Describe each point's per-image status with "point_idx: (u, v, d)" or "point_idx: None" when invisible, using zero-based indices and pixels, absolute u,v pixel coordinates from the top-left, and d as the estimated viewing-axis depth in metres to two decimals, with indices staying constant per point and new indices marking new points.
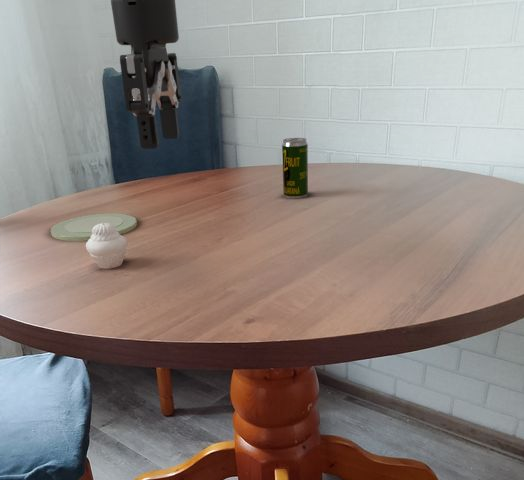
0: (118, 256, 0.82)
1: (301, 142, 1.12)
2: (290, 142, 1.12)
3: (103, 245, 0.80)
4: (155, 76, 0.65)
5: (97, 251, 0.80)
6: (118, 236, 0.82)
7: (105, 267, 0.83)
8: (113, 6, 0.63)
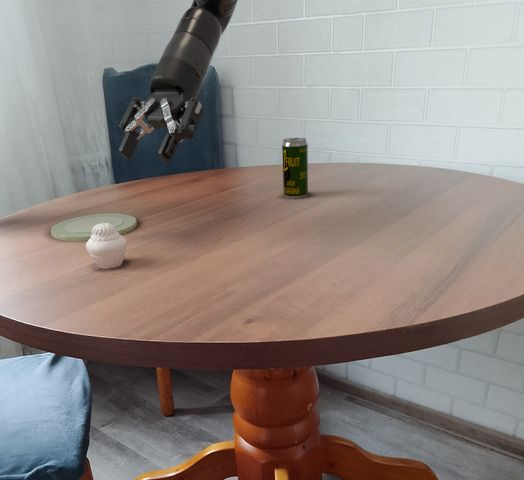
0: (118, 256, 0.82)
1: (301, 142, 1.12)
2: (290, 142, 1.12)
3: (103, 245, 0.80)
4: (180, 120, 0.86)
5: (97, 251, 0.80)
6: (118, 236, 0.82)
7: (105, 267, 0.83)
8: (181, 62, 0.84)
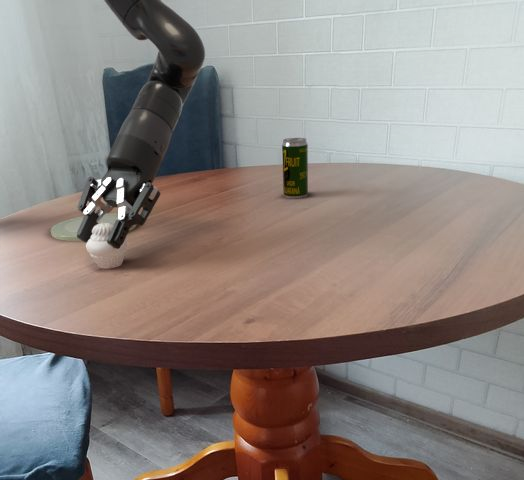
0: (118, 256, 0.82)
1: (301, 142, 1.12)
2: (290, 142, 1.12)
3: (103, 245, 0.80)
4: None
5: (97, 251, 0.80)
6: None
7: (105, 267, 0.83)
8: (138, 141, 0.81)
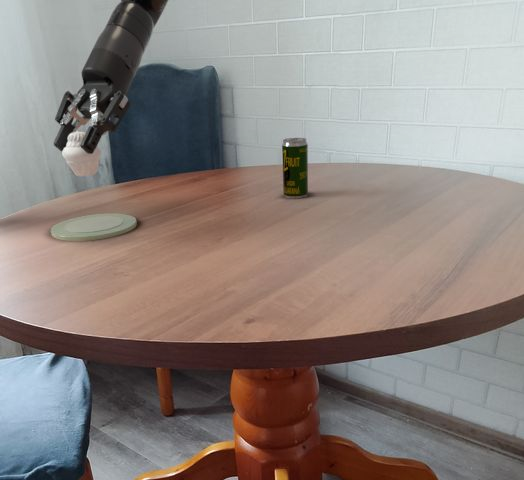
0: (92, 162, 0.89)
1: (301, 142, 1.12)
2: (290, 142, 1.12)
3: (77, 150, 0.87)
4: None
5: (72, 156, 0.87)
6: None
7: (80, 173, 0.89)
8: (110, 54, 0.87)
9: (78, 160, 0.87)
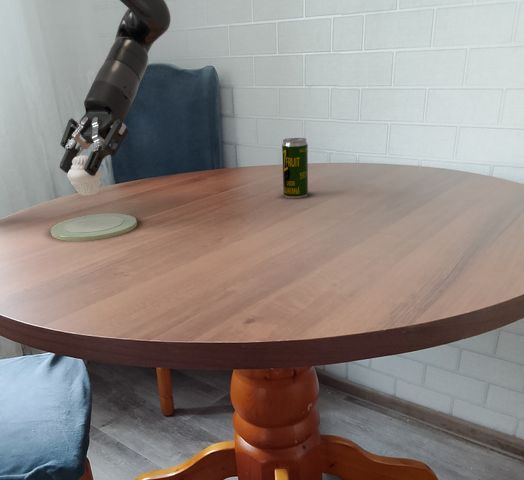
0: (94, 183, 0.98)
1: (301, 142, 1.12)
2: (290, 142, 1.12)
3: (81, 173, 0.96)
4: None
5: (76, 178, 0.97)
6: None
7: (83, 193, 0.99)
8: (110, 86, 0.97)
9: (82, 181, 0.97)
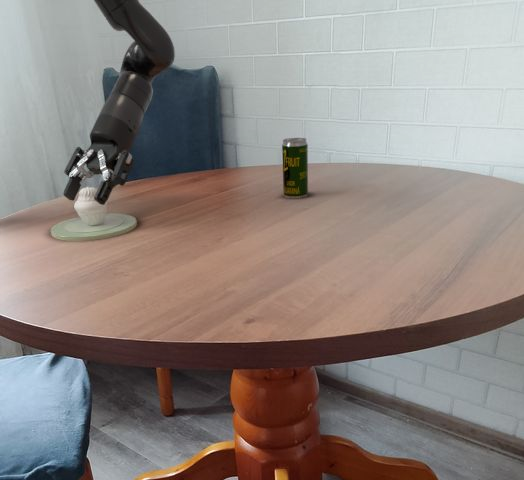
0: (100, 214, 1.01)
1: (301, 142, 1.12)
2: (290, 142, 1.12)
3: (88, 204, 0.99)
4: (115, 168, 1.01)
5: (83, 209, 0.99)
6: None
7: (90, 223, 1.02)
8: (115, 119, 0.99)
9: (88, 212, 1.00)
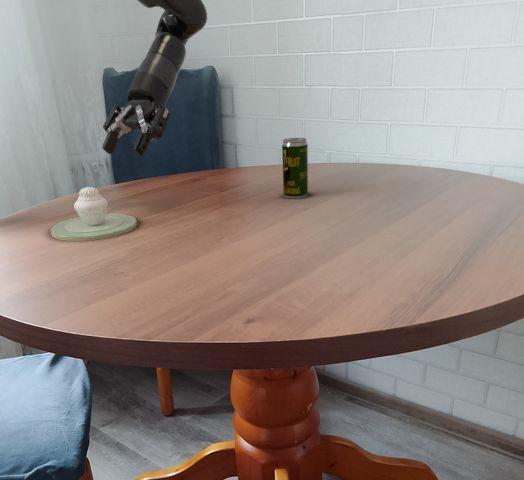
0: (100, 214, 1.01)
1: (301, 142, 1.12)
2: (290, 142, 1.12)
3: (88, 204, 0.99)
4: (151, 123, 1.08)
5: (83, 209, 0.99)
6: (100, 198, 1.01)
7: (90, 223, 1.02)
8: (152, 77, 1.06)
9: (88, 212, 1.00)
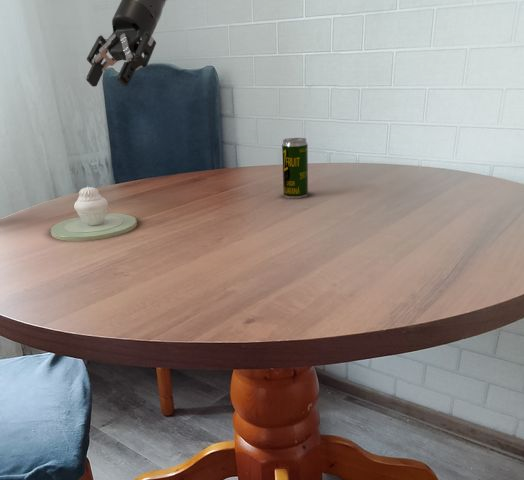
0: (100, 214, 1.01)
1: (301, 142, 1.12)
2: (290, 142, 1.12)
3: (88, 204, 0.99)
4: None
5: (83, 209, 0.99)
6: (100, 198, 1.01)
7: (90, 223, 1.02)
8: (137, 3, 1.02)
9: (88, 212, 1.00)
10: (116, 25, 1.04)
